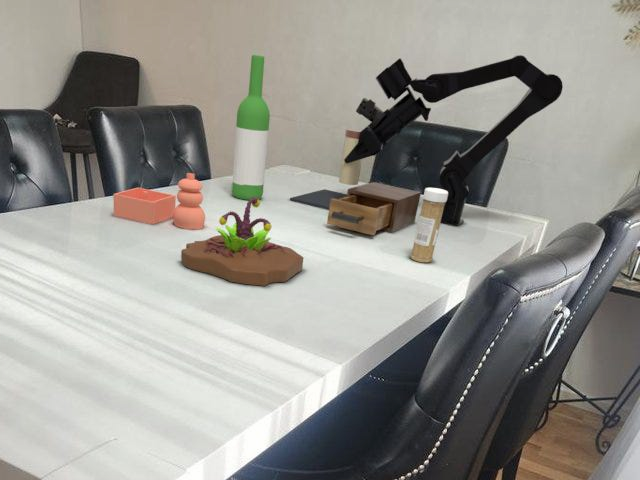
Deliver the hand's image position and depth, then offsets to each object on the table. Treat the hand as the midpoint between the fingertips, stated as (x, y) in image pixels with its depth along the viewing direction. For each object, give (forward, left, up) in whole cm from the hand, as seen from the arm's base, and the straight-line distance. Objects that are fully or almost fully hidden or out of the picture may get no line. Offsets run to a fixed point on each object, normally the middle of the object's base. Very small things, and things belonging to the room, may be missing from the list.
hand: (346, 160), depth 164 cm
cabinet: (+10, +15, -10) cm, 21 cm away
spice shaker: (0, +1, -5) cm, 5 cm away
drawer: (+22, +15, -9) cm, 29 cm away
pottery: (+54, -16, -11) cm, 57 cm away
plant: (+67, +12, -10) cm, 69 cm away
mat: (0, 0, -10) cm, 10 cm away
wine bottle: (+18, -18, -10) cm, 27 cm away
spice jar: (+34, +34, -10) cm, 49 cm away
